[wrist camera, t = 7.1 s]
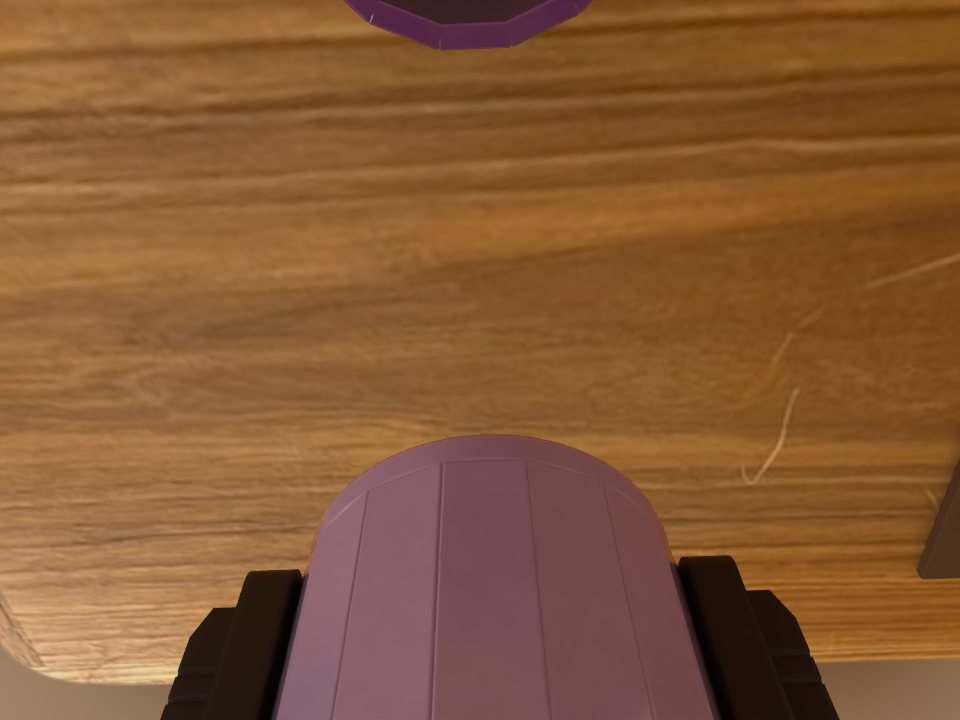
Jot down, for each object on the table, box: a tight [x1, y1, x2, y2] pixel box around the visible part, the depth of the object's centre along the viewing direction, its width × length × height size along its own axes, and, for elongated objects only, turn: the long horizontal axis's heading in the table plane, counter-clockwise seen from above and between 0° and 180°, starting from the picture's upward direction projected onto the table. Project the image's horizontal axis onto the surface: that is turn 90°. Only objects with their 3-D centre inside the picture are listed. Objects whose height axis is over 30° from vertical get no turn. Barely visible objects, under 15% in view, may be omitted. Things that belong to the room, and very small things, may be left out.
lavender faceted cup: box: [269, 434, 724, 720], centre depth 10 cm, size 6×6×5 cm
